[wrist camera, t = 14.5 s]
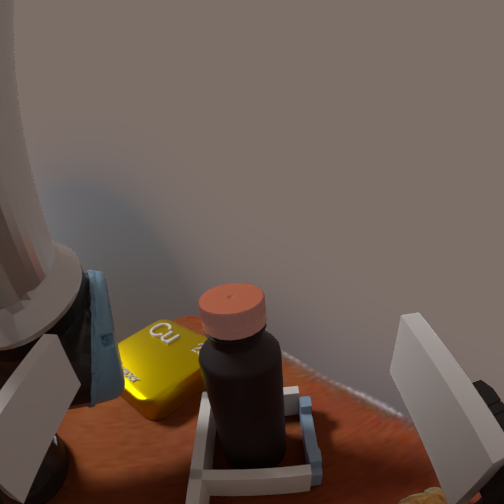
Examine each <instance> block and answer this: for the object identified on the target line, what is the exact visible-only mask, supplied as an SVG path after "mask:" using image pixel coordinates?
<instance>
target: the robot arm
mask: <svg viewBox="0 0 504 504" xmlns="http://www.w3.org/2000/svg"><path fill="white" fill-rule="evenodd" d="M13 15H14V0H0V504H44V503H45V502H47V501H48V500H49V499H51V498H52V497H53V496H54V495H55V494H56V492H57V491H58V490H59V488H60V487H61V485H62V483H63V481H64V479H65V476H66V473H67V468H68V454H67V450H66V447H65V445H64V443H63V441H62V440H61V438H60V437H59V436H58V434H57V433H56V432H57V430H58V428H59V426H60V424H61V422H62V420H63V418H64V416H65V414H66V412H67V410H69V409H75V408H81V407H87V406H88V407H94V406H95V405H96V404H98V403H102V402H106V401H109V400H113V399H116V398H118V397H119V396H120V395H121V394H122V393H123V391H124V388H125V378H124V372H123V367H122V362H121V357H120V352H119V347H118V342H117V337H116V332H115V327H114V322H113V317H112V311H111V305H110V299H109V294H108V287H107V282H106V279H105V275H104V274H103V273H102V272H101V271H93V270H89V271H86V273H83V270H82V267H81V264H80V262H79V260H78V257H77V255H76V254H75V253H74V252H73V251H72V250H71V249H70V248H68V247H67V246H65V245H63V244H60V243H57V242H53V241H52V239H51V236H50V233H49V230H48V227H47V224H46V221H45V218H44V214H43V211H42V208H41V204H40V201H39V198H38V194H37V190H36V186H35V183H34V179H33V175H32V171H31V167H30V162H29V158H28V153H27V148H26V143H25V138H24V133H23V127H22V122H21V116H20V109H19V101H18V93H17V85H16V75H15V61H14V38H13ZM390 374H391V376H392V378H393V380H394V382H395V384H396V386H397V388H398V390H399V392H400V394H401V396H402V398H403V401H404V402H405V405H406V407H407V409H408V411H409V413H410V415H411V418H412V420H413V422H414V424H415V427H416V429H417V431H418V433H419V435H420V438H421V440H422V442H423V445H424V447H425V449H426V451H427V454H428V456H429V458H430V461H431V463H432V466H433V468H434V470H435V473H436V475H437V478H438V480H439V483H440V485H441V488H442V490H443V493H444V495H445V498H446V501H447V503H448V504H463V503H465V502H467V501H469V500H471V499H472V498H473V497H474V496H475V495H476V494H477V493H478V492H480V494H481V496H482V497H481V498H480V499H479V500H478V501H477V502H476V503H475V504H504V404H503V402H501V401H500V400H501V399H500V398H499V397H498V395H497V394H496V392H495V391H494V389H493V388H491V387H490V386H489V385H487V384H486V383H485V382H483V381H482V380H479V381H477V382H474V383H471V381H470V380H469V379H468V377H467V376H466V374H465V373H464V371H463V370H462V369H461V367H460V366H459V364H458V363H457V362H456V360H455V359H454V357H453V356H452V355H451V353H450V352H449V351H448V349H447V348H446V347H445V345H444V344H443V343H442V341H441V340H440V339H439V337H438V336H437V335H436V333H435V332H434V331H433V330H432V328H431V327H430V326H429V324H428V323H427V322H426V321H425V319H424V318H423V317H422V316H421V314H420V313H419V312H418V313H413V314H406V315H401V319H400V324H399V329H398V335H397V340H396V345H395V349H394V354H393V358H392V363H391V367H390Z"/></svg>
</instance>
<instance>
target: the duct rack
mask: <svg viewBox="0 0 504 504" xmlns="http://www.w3.org/2000/svg"><path fill="white" fill-rule="evenodd" d="M283 393H284V412H285V416H289V415H298V414H299V419H300V425H301V432H302V439H303V446H304V453H305V460H306V465H299V466H289V467H278V468H264V469H241V470H212V467H213V457H214V447H215V437H216V424H215V420H214V417H213V413H212V410H211V406H210V403H209V399H208V396H207V392H203V393H202V399H201V405H200V411H199V417H198V423H197V430H196V436H195V442H194V449H193V455H192V462H191V469H190V475H189V482H188V489H187V496H186V503H185V504H209V500H210V496H257V495H274V494H287V493H297V492H305V491H310V486H315V485H321V482H322V476H323V472H322V467H321V466H322V457H321V451H320V448H318V445H317V439H316V434H315V429H314V423H313V418H312V413H311V411H312V405H311V400H310V396H305V397H299V390H298V386H293V387H283Z"/></svg>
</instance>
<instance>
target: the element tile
mask: <svg viewBox="0 0 504 504" xmlns="http://www.w3.org/2000/svg"><path fill="white" fill-rule="evenodd" d="M207 339H208V338H206V337H204V336H202V335H200V334H198V333H195V332H193V331H191V330H189V329H187V328H185V327H183V326H181V325H179V324H177V323H175V322H173V321H170V320H166V319H162V320H159V321H157V322H155V323H153V324H151V325H150V326H148V327H146V328H144V329H142V330H141V331H139V332H137V333H136V334H134V335H132V336H130V337H128V338H126V339H125V340H123V341H121V342H119V343H118V347H119V352H120V357H121V362H122V367H123V372H124V378H125V388H124V391H123V393H122V394H121V395H120V396H121V397H122V398H124V399H125V400H126V401H127V402H128V403H129V404H130V405H131V406H132V407H133V408H134V409H136V410H137V411H138V412H139V413H140V414H141V415H142V416H144V417H145V418H147V419H149V420H159V419H162V418H164V417H166V416H167V415H169V414H170V413H172V412H173V411H174V410H176V409H177V408H178V407H180V406H181V405H182V404H184V403H185V402H186V401H188V400H189V399H190V398H192V397H193V396H194V395H195V394H197V393H198V392H199V391H201V390H202V389H203V388H204V387H205V385H204V381H203V377H202V373H201V369H200V366H199V361H198V359H199V350H200V349H201V347H202V345H203V344H204V342H205V341H206V340H207Z"/></svg>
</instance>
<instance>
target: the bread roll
mask: <svg viewBox="0 0 504 504" xmlns="http://www.w3.org/2000/svg"><path fill="white" fill-rule="evenodd" d="M398 504H448V503H447V501H446V498H445V495H444V493H443V490H442V488H439V487H432V488H428V489H426V490H424V493H417V494H413V495H410V496H408V497H407V498H404V499H402V500H401V501H400V502H399V503H398ZM463 504H470V503H469V502H465V503H463Z"/></svg>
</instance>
